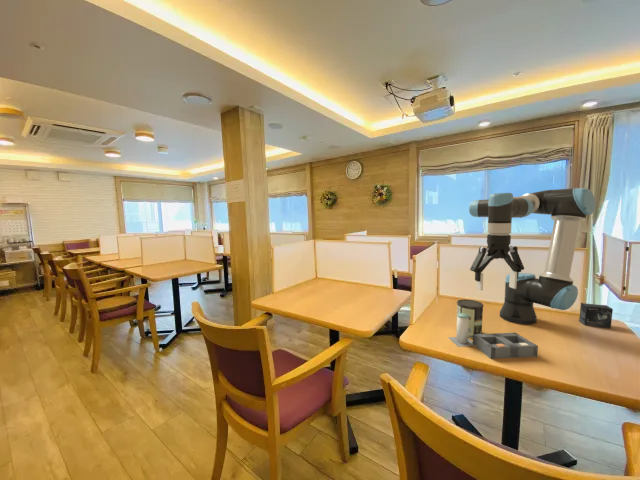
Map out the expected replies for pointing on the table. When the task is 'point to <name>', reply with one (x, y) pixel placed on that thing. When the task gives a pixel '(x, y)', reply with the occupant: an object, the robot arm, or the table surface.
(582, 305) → the box
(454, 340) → the mat
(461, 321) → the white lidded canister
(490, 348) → the socket box
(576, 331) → the table surface
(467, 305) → the coffee can
